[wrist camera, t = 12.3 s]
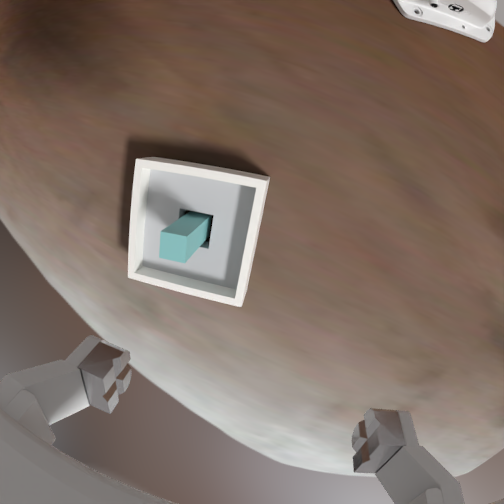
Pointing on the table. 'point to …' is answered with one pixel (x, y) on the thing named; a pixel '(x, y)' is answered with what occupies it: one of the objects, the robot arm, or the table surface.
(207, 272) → the box
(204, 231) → the peg
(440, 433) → the table surface
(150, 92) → the table surface
